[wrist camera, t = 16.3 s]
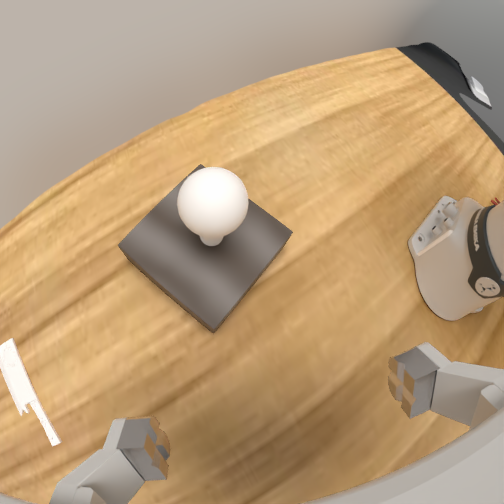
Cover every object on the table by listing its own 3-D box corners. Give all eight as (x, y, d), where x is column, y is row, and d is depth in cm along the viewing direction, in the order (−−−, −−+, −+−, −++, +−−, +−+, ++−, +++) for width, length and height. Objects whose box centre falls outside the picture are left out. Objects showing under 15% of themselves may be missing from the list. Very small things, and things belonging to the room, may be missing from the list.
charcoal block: (200, 185, 41) (200, 164, 37) (283, 247, 40) (293, 232, 35) (128, 259, 37) (117, 245, 32) (213, 333, 35) (214, 329, 30)
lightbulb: (207, 203, 35) (208, 141, 25) (250, 233, 34) (268, 179, 24) (172, 242, 33) (158, 188, 23) (216, 276, 32) (220, 233, 22)
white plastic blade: (39, 451, 26) (35, 453, 25) (-6, 352, 30) (-11, 351, 28) (63, 441, 27) (59, 443, 26) (15, 338, 31) (11, 337, 30)
